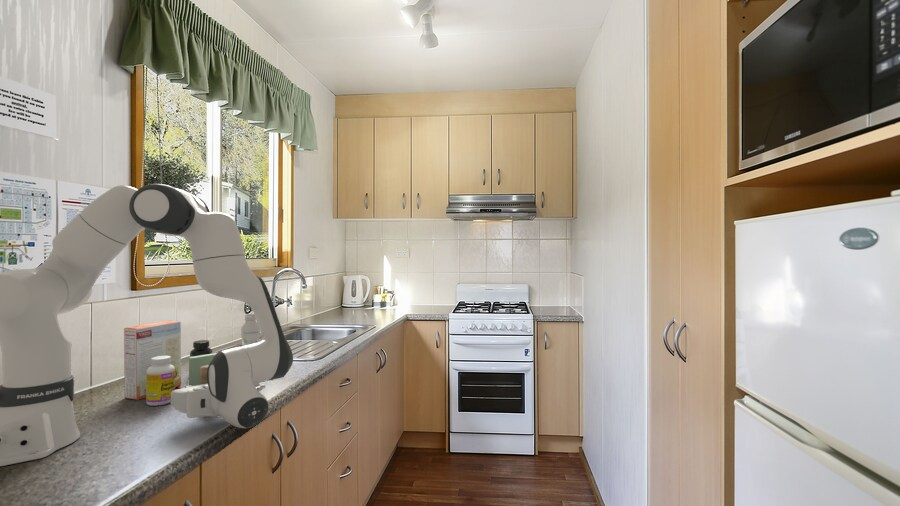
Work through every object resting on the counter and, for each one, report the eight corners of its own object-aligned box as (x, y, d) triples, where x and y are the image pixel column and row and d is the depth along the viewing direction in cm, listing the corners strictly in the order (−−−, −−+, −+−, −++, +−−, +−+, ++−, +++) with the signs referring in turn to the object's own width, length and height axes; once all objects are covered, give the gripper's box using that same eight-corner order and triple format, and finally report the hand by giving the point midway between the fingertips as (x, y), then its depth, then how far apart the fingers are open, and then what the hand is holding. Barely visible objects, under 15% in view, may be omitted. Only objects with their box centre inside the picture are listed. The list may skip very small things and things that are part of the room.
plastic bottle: (242, 367, 160) (243, 313, 160) (262, 366, 161) (262, 313, 161) (237, 372, 153) (237, 316, 153) (257, 371, 155) (258, 316, 155)
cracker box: (168, 384, 139) (168, 320, 139) (181, 386, 137) (182, 321, 137) (122, 398, 125) (123, 326, 125) (136, 400, 123) (137, 328, 123)
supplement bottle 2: (187, 375, 149) (187, 341, 149) (209, 371, 154) (209, 338, 154) (192, 379, 144) (192, 344, 144) (214, 376, 149) (214, 341, 149)
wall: (190, 394, 129) (191, 358, 129) (188, 393, 130) (189, 357, 130) (245, 383, 140) (245, 349, 140) (243, 382, 142) (243, 348, 142)
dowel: (202, 415, 113) (203, 369, 113) (197, 411, 116) (198, 366, 116) (219, 411, 116) (219, 366, 116) (213, 407, 119) (214, 363, 119)
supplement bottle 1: (160, 407, 118) (160, 360, 118) (140, 405, 119) (140, 359, 120) (180, 399, 125) (180, 355, 125) (160, 397, 126) (161, 354, 126)
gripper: (268, 375, 114) (247, 365, 124) (181, 393, 99) (164, 380, 109) (268, 399, 114) (246, 387, 124) (181, 420, 99) (164, 405, 109)
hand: (207, 384), depth 116 cm, fingers open, 8 cm apart
